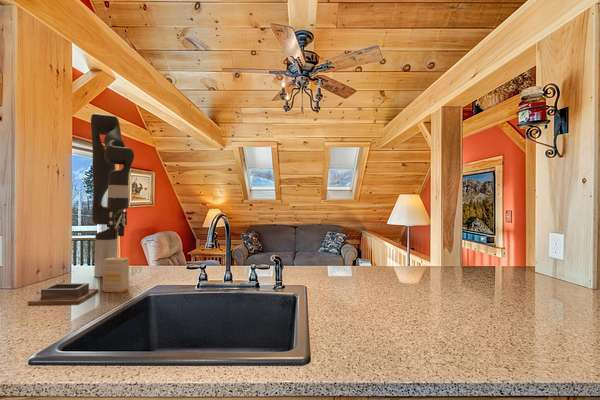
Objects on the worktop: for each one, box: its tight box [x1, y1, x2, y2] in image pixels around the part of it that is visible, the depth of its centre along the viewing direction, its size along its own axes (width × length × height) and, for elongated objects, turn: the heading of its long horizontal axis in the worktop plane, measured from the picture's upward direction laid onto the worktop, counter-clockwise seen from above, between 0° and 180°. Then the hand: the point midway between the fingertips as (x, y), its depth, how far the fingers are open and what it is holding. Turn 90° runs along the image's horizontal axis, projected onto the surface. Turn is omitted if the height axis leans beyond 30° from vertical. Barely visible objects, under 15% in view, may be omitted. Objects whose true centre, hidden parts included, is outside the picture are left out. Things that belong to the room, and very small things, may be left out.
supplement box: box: [102, 257, 130, 294], centre depth 138 cm, size 8×5×13 cm, turn 84°
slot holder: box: [27, 282, 99, 306], centre depth 128 cm, size 16×16×4 cm
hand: (116, 237), depth 138 cm, fingers open, 8 cm apart
